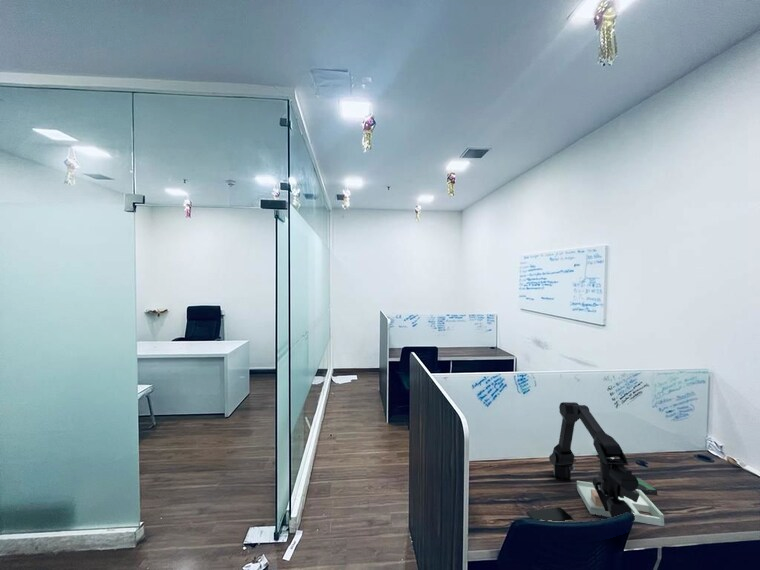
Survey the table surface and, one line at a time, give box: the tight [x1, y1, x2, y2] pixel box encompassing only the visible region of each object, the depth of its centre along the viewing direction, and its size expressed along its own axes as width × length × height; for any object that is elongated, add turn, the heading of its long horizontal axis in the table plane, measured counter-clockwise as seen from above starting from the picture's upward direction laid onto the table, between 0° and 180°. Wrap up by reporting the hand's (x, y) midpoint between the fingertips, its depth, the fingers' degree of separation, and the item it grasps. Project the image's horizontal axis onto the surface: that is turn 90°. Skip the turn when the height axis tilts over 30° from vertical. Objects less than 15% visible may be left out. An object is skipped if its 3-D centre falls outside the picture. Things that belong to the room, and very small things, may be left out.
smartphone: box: [526, 506, 575, 522], centre depth 121 cm, size 8×1×16 cm
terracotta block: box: [591, 489, 603, 506], centre depth 125 cm, size 5×5×4 cm
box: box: [576, 480, 665, 527], centre depth 127 cm, size 24×17×4 cm
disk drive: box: [636, 477, 658, 496], centre depth 140 cm, size 10×3×15 cm
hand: (611, 518), depth 115 cm, fingers open, 9 cm apart
